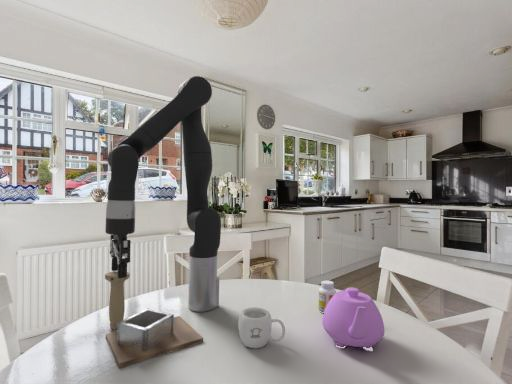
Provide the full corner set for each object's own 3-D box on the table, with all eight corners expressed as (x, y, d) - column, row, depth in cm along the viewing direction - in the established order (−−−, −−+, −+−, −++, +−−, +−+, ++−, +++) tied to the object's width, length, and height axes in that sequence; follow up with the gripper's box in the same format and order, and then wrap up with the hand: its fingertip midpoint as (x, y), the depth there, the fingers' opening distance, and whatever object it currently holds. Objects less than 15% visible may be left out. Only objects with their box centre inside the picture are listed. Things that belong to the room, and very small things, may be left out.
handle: (122, 332, 80) (123, 276, 80) (100, 330, 81) (101, 275, 81) (131, 324, 85) (132, 272, 85) (111, 322, 85) (112, 270, 85)
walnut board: (179, 319, 88) (179, 315, 88) (203, 341, 76) (203, 337, 76) (105, 337, 77) (105, 333, 77) (118, 368, 64) (118, 363, 64)
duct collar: (147, 326, 81) (147, 308, 81) (173, 333, 78) (173, 314, 78) (117, 343, 72) (117, 322, 72) (144, 351, 69) (145, 330, 69)
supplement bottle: (335, 309, 98) (336, 280, 98) (335, 316, 93) (336, 285, 93) (318, 307, 100) (319, 279, 100) (318, 314, 94) (318, 283, 94)
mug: (236, 351, 71) (236, 318, 71) (240, 334, 80) (240, 305, 80) (285, 353, 71) (286, 321, 71) (284, 336, 79) (284, 307, 79)
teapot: (398, 371, 65) (399, 308, 65) (325, 363, 67) (326, 303, 67) (373, 326, 86) (374, 279, 86) (319, 321, 89) (320, 276, 89)
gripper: (141, 218, 80) (139, 278, 79) (128, 214, 91) (127, 266, 91) (111, 218, 75) (108, 282, 75) (101, 214, 87) (99, 269, 87)
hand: (118, 273), depth 83 cm, fingers open, 8 cm apart
